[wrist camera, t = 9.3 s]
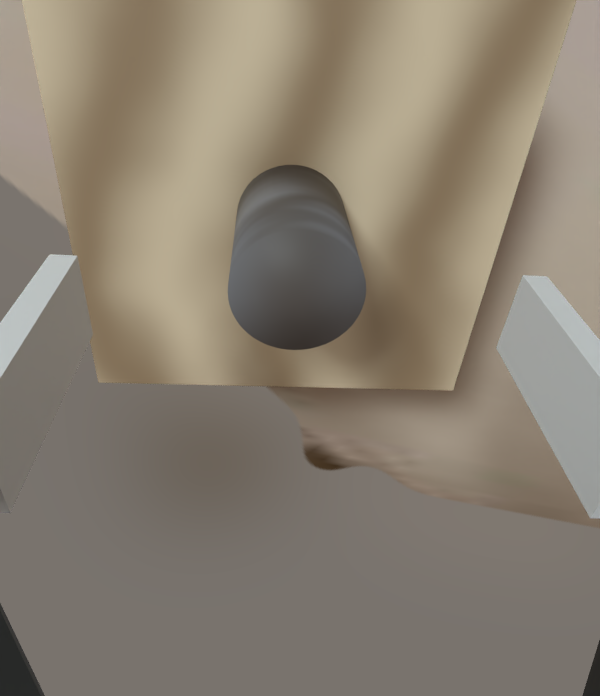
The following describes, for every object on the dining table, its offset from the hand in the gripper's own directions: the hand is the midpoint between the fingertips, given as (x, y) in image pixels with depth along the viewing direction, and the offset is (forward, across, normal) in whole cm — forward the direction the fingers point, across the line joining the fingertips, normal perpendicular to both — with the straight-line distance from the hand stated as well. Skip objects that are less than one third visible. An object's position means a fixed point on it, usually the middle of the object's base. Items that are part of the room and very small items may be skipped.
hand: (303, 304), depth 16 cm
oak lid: (+8, 0, 0) cm, 8 cm away
